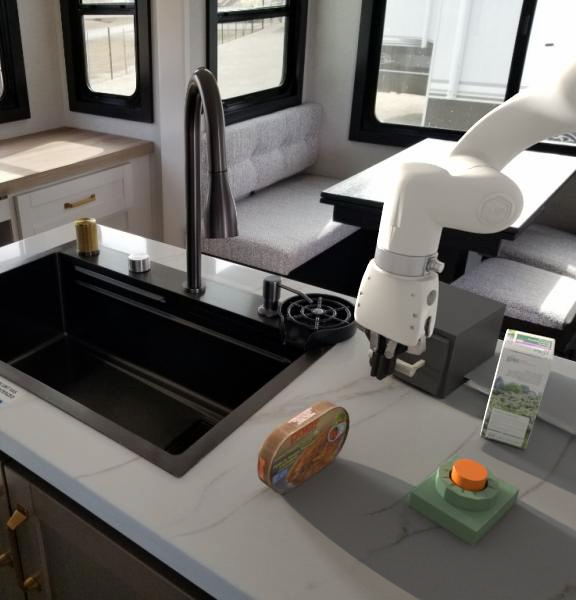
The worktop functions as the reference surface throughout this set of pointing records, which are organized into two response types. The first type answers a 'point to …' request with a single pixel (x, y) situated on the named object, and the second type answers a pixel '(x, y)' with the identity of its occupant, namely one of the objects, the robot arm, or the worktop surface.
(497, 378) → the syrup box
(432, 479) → the green button base
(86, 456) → the worktop surface
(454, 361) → the grey drawer box
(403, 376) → the dark grey drawer
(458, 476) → the button
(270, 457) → the tin
